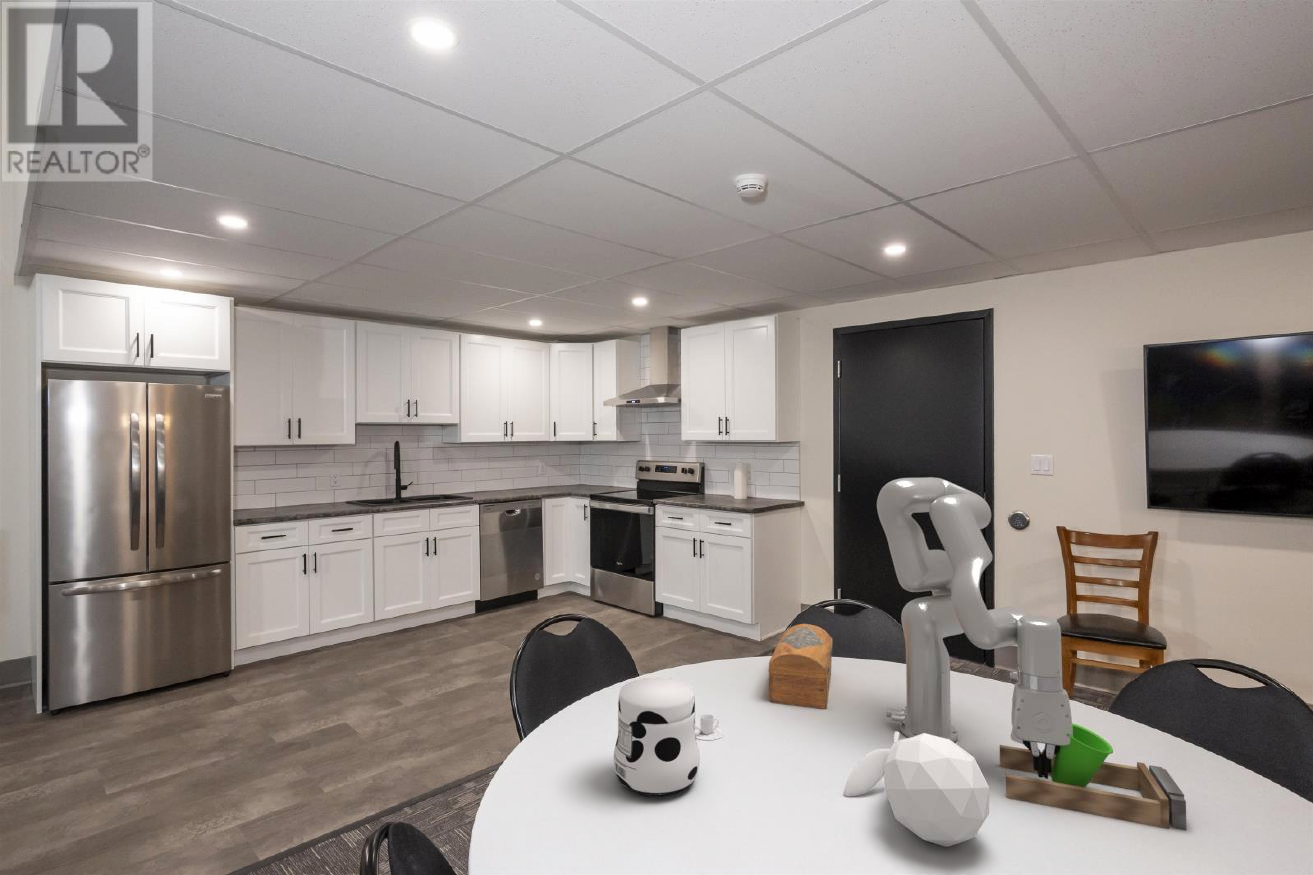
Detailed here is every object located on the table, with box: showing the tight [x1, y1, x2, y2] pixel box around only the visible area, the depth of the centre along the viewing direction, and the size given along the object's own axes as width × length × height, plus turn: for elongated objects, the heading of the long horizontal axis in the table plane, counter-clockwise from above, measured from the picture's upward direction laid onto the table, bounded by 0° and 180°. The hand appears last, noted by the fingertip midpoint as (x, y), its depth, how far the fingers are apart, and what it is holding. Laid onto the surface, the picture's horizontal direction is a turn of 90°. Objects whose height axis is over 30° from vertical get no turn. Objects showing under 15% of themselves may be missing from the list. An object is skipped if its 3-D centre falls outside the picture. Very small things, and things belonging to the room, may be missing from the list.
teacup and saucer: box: [695, 713, 725, 741], centre depth 151 cm, size 9×8×4 cm
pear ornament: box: [843, 730, 990, 848], centre depth 116 cm, size 16×22×28 cm
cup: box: [1050, 722, 1114, 788], centre depth 125 cm, size 9×9×11 cm
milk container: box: [613, 677, 701, 796], centre depth 130 cm, size 17×17×18 cm
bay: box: [999, 744, 1187, 831], centre depth 124 cm, size 28×14×5 cm, turn 67°
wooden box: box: [768, 623, 833, 710], centre depth 181 cm, size 30×16×14 cm, turn 161°
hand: (1042, 775), depth 126 cm, fingers closed
